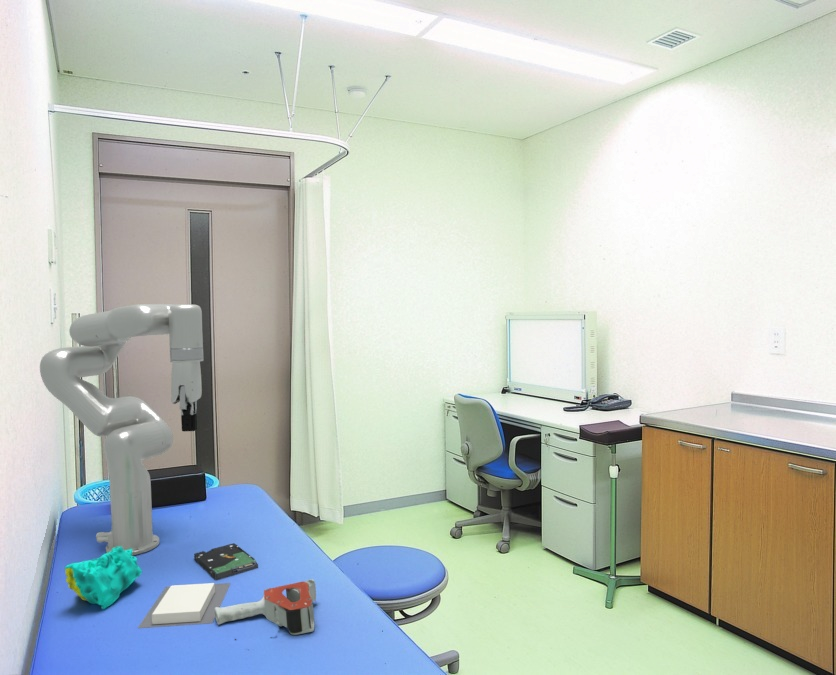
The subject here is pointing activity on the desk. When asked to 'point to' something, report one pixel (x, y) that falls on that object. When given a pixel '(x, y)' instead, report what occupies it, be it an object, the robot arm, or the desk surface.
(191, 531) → the desk surface
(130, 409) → the robot arm
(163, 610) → the tile
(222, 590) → the mat
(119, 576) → the teal sponge
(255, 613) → the tape dispenser
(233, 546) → the disk drive
